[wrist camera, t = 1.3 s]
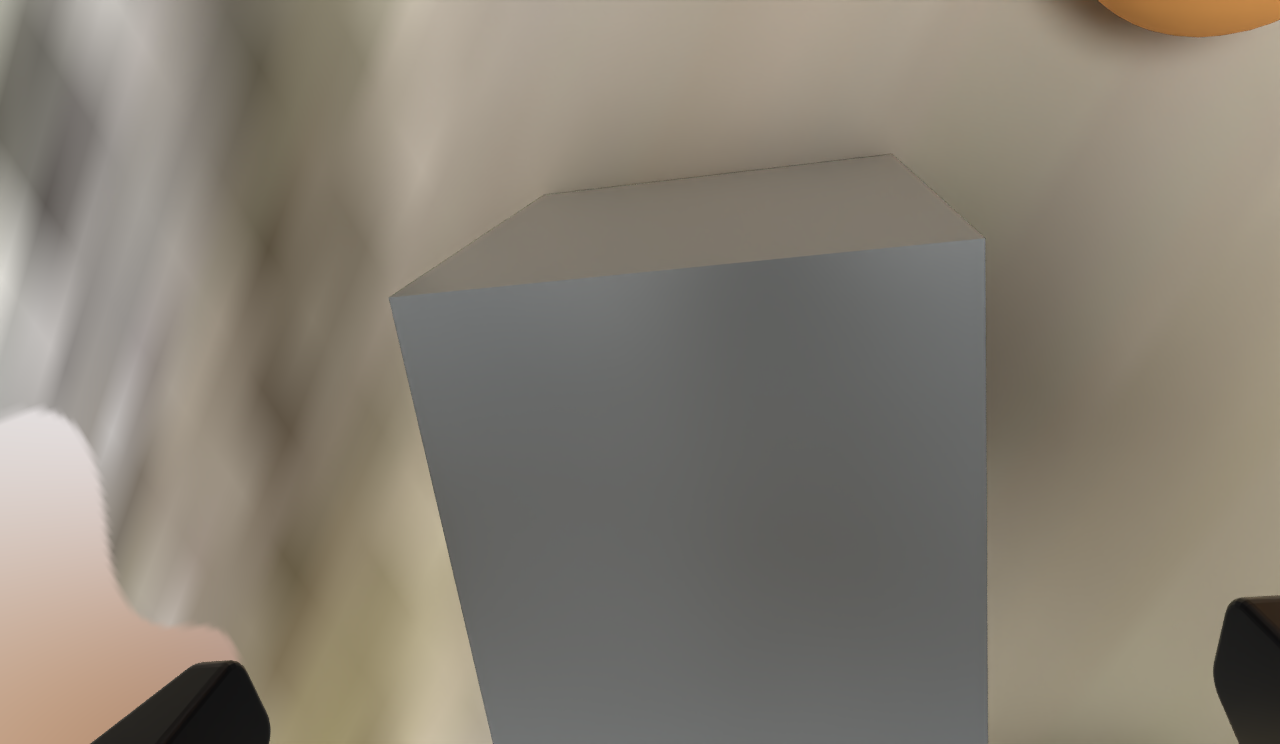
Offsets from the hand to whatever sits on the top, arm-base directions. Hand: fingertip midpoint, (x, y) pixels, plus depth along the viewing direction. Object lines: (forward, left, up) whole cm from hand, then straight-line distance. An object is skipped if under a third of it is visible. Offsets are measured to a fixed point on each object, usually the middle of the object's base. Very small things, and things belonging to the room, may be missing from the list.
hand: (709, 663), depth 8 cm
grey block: (-1, 0, -13) cm, 13 cm away
